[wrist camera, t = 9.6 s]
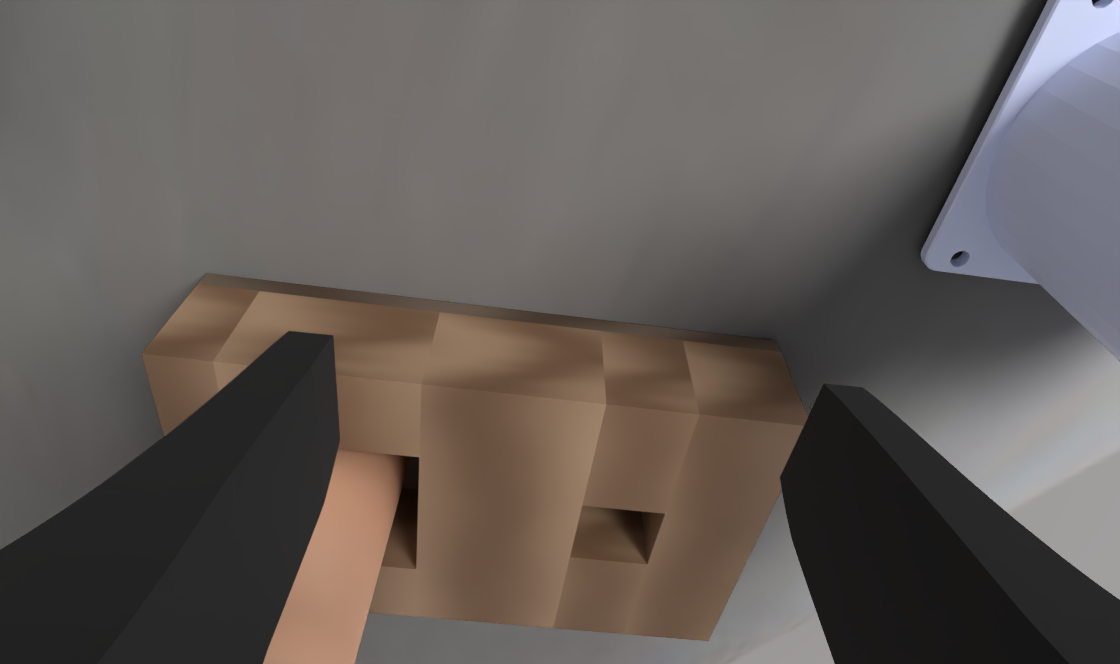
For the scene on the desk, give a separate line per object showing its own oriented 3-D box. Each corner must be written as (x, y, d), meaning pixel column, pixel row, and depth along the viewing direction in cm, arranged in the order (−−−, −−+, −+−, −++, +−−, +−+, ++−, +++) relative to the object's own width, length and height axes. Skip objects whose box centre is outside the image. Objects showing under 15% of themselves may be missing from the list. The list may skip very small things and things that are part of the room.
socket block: (776, 340, 23) (812, 426, 19) (692, 549, 29) (708, 641, 26) (206, 273, 21) (141, 353, 18) (250, 508, 28) (208, 598, 24)
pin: (413, 393, 23) (348, 614, 17) (416, 474, 25) (359, 696, 19) (292, 382, 23) (178, 601, 16) (306, 465, 25) (211, 685, 19)
